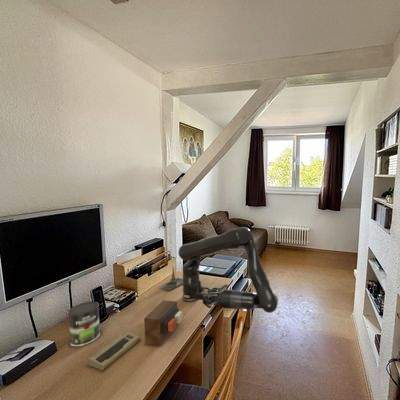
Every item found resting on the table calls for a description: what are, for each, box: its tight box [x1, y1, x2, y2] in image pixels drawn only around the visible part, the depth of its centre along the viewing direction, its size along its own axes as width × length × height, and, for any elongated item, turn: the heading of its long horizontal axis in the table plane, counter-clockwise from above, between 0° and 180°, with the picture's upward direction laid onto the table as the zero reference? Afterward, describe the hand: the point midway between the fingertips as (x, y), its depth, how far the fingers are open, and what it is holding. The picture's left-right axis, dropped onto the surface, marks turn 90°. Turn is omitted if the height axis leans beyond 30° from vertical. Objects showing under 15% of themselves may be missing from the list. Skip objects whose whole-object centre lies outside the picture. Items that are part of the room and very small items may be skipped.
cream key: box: [174, 310, 184, 324], centre depth 101 cm, size 2×4×4 cm, turn 173°
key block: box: [143, 299, 180, 347], centre depth 99 cm, size 9×14×12 cm, turn 173°
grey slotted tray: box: [87, 331, 140, 371], centre depth 89 cm, size 16×8×3 cm, turn 163°
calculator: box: [90, 300, 126, 316], centre depth 120 cm, size 11×4×15 cm
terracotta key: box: [168, 318, 178, 333], centre depth 96 cm, size 2×4×4 cm, turn 173°
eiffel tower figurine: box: [158, 266, 183, 291], centre depth 146 cm, size 15×10×13 cm
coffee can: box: [67, 301, 101, 347], centre depth 96 cm, size 10×10×14 cm
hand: (195, 296), depth 99 cm, fingers closed
